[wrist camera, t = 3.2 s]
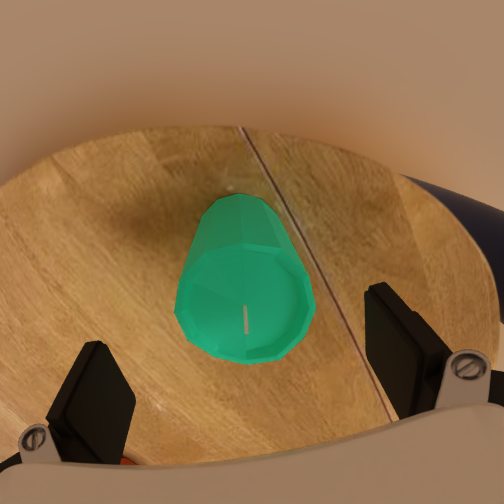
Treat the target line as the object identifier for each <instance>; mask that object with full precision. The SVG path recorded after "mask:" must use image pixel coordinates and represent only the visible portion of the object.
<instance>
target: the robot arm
mask: <svg viewBox="0 0 504 504" xmlns="http://www.w3.org/2000/svg"><path fill="white" fill-rule="evenodd" d="M364 301H365V350H366V356H367V359H368V361H369V363H370V365H371V367H372V369H373V370H374V372H375V374H376V376H377V378H378V380H379V381H380V383H381V385H382V387H383V389H384V391H385V393H386V394H387V396H388V398H389V400H390V402H391V404H392V406H393V408H394V410H395V412H396V413H397V415H398V417H399V419H400V420H398V421H395V422H393V423H390V424H387V425H384V426H380V427H377V428H374V429H371V430H368V431H364V432H361V433H357V434H354V435H350V436H347V437H343V438H339V439H336V440H332V441H328V442H324V443H320V444H316V445H311V446H307V447H303V448H298V449H293V450H288V451H283V452H278V453H272V454H266V455H260V456H254V457H247V458H240V459H232V460H224V461H214V462H204V463H191V464H173V465H120V463H121V459H122V455H123V451H124V447H125V442H126V438H127V435H128V431H129V427H130V423H131V419H132V415H133V412H134V408H135V404H136V398H135V395H134V393H133V391H132V389H131V388H130V386H129V384H128V383H127V381H126V379H125V377H124V376H123V374H122V372H121V370H120V368H119V367H118V365H117V363H116V361H115V359H114V357H113V356H112V354H111V352H110V350H109V348H108V346H107V345H106V344H103V342H101V341H99V340H98V341H91V342H86V343H85V344H84V346H83V348H82V350H81V351H80V353H79V355H78V357H77V359H76V360H75V362H74V364H73V366H72V368H71V369H70V371H69V373H68V375H67V377H66V379H65V381H64V383H63V384H62V386H61V388H60V390H59V392H58V394H57V396H56V398H55V400H54V402H53V404H52V406H51V408H50V410H49V412H48V414H47V416H46V420H47V421H48V422H49V425H48V427H47V426H46V425H44V424H34V425H32V426H30V427H28V428H27V429H26V430H25V431H24V432H23V433H22V434H21V436H20V438H19V441H18V447H19V451H20V452H18V453H16V454H15V455H13V456H12V457H10V458H8V459H7V460H5V461H3V462H2V463H0V504H504V372H502V371H496V370H491V363H490V361H489V359H488V358H487V357H486V356H485V355H484V354H483V353H481V352H479V351H476V350H472V349H464V350H459V351H457V352H455V353H453V352H452V351H451V350H450V349H449V348H448V346H447V345H446V344H445V343H444V342H443V341H442V340H441V338H440V337H439V336H438V335H437V334H436V333H435V332H434V330H433V329H432V328H431V327H430V326H429V325H428V324H427V323H426V321H425V320H424V319H423V318H422V317H421V316H420V315H419V314H418V313H417V312H416V311H412V310H411V309H410V308H409V307H408V306H407V305H406V304H405V302H404V301H403V300H402V299H401V298H400V297H399V296H398V295H397V294H396V293H395V292H394V290H393V289H392V288H391V287H390V286H389V285H388V284H387V283H386V282H381V283H378V284H374V285H370V286H369V289H368V291H365V293H364Z"/></svg>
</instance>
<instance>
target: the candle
mask: <svg viewBox="0 0 504 504" xmlns="http://www.w3.org/2000/svg"><path fill="white" fill-rule="evenodd" d="M315 311H316V305H315V300H314V296H313V291H312V287H311V283H310V278H309V275H308V273H307V271H306V269H305V267H304V265H303V263H302V261H301V259H300V258H299V256H298V254H297V252H296V250H295V248H294V246H293V244H292V242H291V240H290V238H289V236H288V234H287V232H286V230H285V229H284V227H283V225H282V223H281V221H280V219H279V217H278V215H277V213H276V212H275V211H274V210H273V209H271V208H270V207H269V206H268V205H267V204H266V203H265V202H264V201H263V200H262V199H261V198H257V197H253V196H249V195H245V194H241V193H238V194H234V195H231V196H227V197H224V198H221V199H217V200H216V201H215V202H214V204H213V205H212V206H211V207H210V208H209V209H208V210H207V211H206V212H205V213H204V214H203V215H202V218H201V220H200V223H199V226H198V228H197V231H196V234H195V237H194V240H193V242H192V245H191V248H190V251H189V254H188V256H187V259H186V262H185V265H184V268H183V271H182V274H181V277H180V280H179V284H178V290H177V296H176V303H175V309H174V313H175V315H176V317H177V320H178V322H179V324H180V326H181V328H182V330H183V332H184V334H185V336H186V338H187V340H188V341H189V342H191V343H193V344H194V345H196V346H197V347H199V348H200V349H202V350H204V351H205V352H207V353H208V354H210V355H212V356H213V357H216V358H220V359H224V360H228V361H233V362H237V363H241V364H246V365H248V364H256V363H263V362H270V361H277V360H280V359H281V358H282V357H284V356H285V355H286V354H287V353H288V352H289V351H290V350H291V349H292V348H293V347H295V346H296V345H297V344H298V343H299V342H300V341H301V340H302V339H303V338H304V337H305V335H306V332H307V330H308V328H309V325H310V323H311V321H312V318H313V316H314V313H315Z"/></svg>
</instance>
